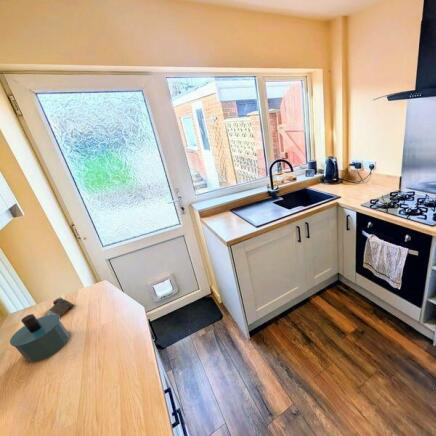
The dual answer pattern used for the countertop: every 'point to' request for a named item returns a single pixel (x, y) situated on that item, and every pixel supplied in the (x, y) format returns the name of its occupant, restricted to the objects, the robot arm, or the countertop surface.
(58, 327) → the tin
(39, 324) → the lid
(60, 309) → the chocolate cake
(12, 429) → the countertop surface
